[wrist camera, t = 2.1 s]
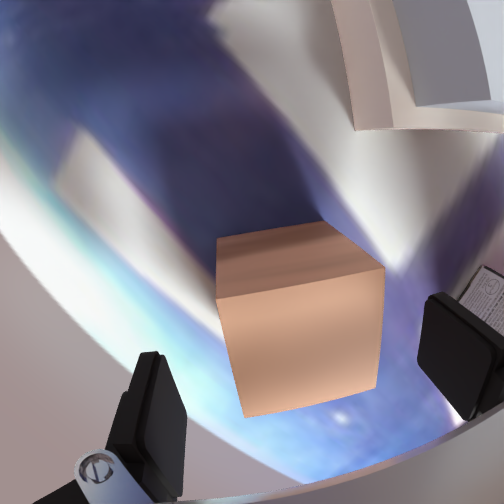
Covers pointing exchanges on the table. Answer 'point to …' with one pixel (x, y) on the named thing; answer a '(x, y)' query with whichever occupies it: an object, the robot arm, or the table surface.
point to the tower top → (455, 52)
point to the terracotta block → (299, 316)
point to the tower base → (391, 75)
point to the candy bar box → (486, 297)
